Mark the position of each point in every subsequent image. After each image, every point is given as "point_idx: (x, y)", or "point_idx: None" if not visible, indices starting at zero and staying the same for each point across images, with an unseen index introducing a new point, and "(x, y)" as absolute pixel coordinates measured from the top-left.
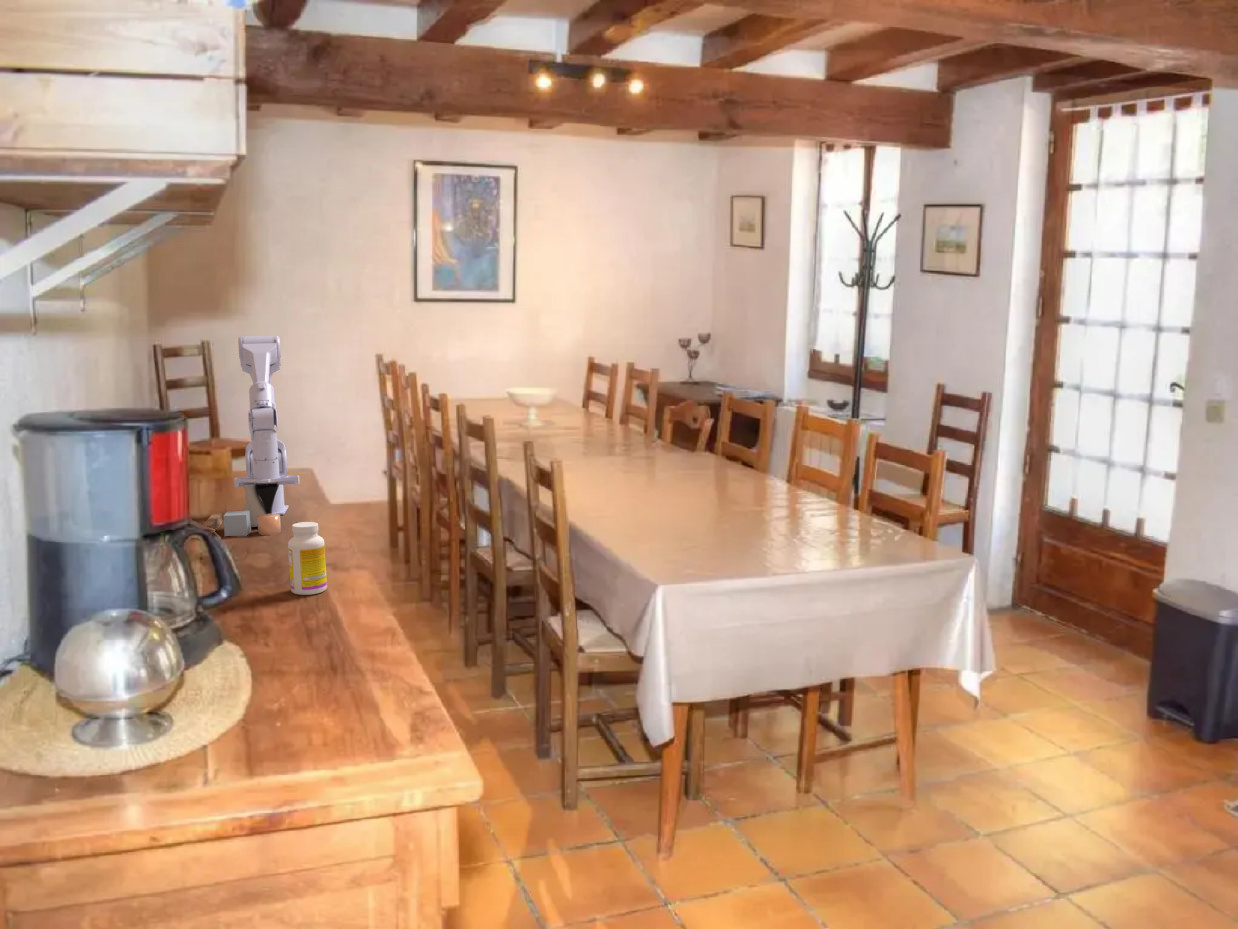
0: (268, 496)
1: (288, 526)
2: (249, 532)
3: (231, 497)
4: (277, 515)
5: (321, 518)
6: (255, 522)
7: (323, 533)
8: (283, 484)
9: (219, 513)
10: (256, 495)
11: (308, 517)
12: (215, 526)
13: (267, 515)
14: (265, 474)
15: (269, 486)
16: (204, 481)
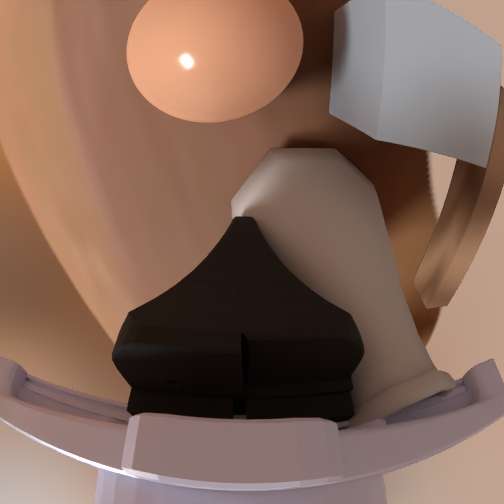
0: (223, 285)
1: (152, 179)
2: (333, 65)
3: None
4: (143, 51)
5: (85, 286)
6: (315, 159)
7: (10, 57)
8: (90, 395)
9: (436, 300)
10: None
11: (131, 306)
12: (469, 167)
13: (222, 57)
14: None
15: (209, 395)
16: None
